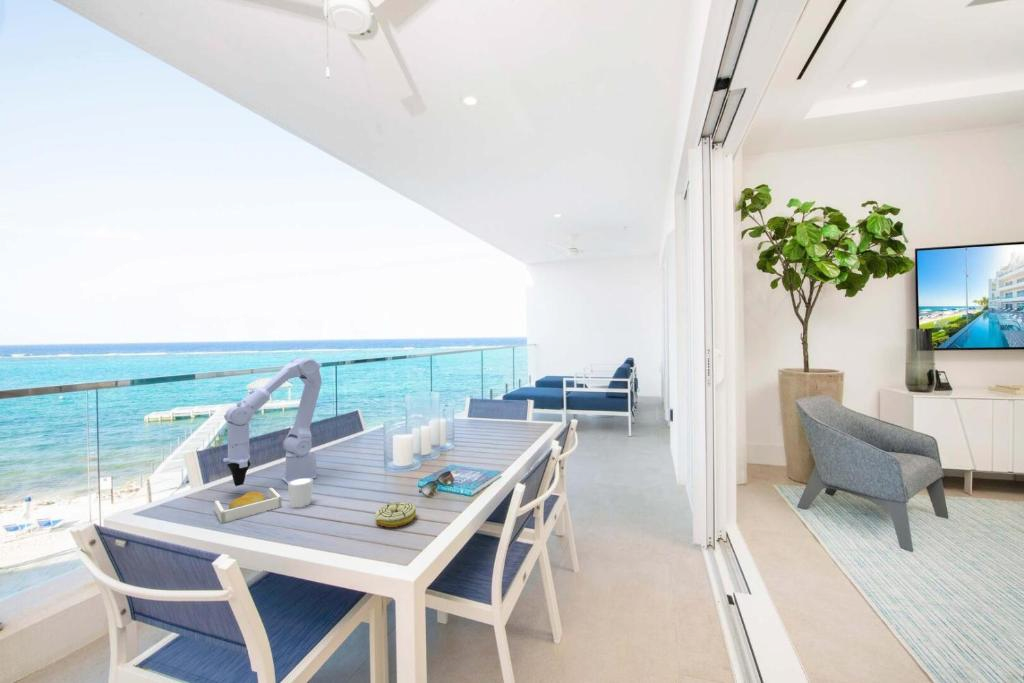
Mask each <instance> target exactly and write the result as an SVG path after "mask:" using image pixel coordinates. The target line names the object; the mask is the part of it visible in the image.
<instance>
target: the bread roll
mask: <svg viewBox="0 0 1024 683" xmlns="http://www.w3.org/2000/svg"><path fill="white" fill-rule="evenodd" d="M265 500H267V499H266V496H265V495H264V494H263V493H261V492H259V491H258V492H257V491H249V492H246V493H244V494H243V495H242V496H239V497H236V498H235V499H233V500H232V501H231V502H230V504H229V506H228V510H229V509H233V508H237V507H241V506H245V505H249V504H253V503H257V502H261V501H265Z"/></svg>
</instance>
